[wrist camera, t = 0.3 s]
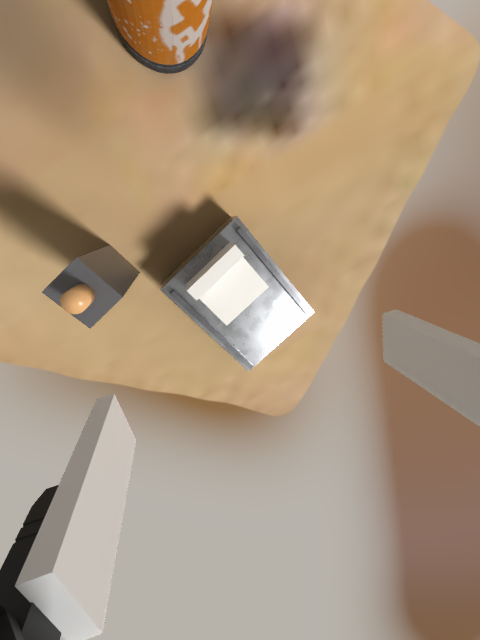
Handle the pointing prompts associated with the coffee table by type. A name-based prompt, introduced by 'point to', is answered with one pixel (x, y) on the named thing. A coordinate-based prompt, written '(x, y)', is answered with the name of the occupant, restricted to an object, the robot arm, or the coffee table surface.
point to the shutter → (227, 284)
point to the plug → (92, 284)
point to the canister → (162, 31)
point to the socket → (260, 316)
